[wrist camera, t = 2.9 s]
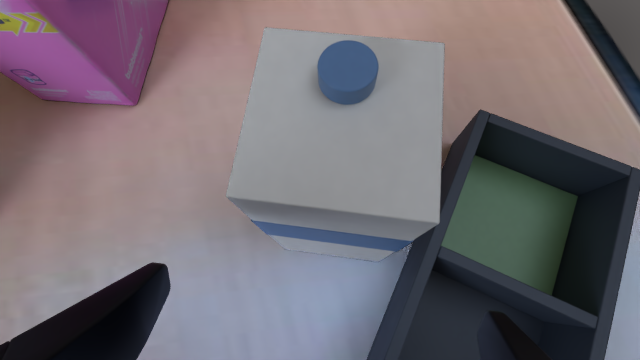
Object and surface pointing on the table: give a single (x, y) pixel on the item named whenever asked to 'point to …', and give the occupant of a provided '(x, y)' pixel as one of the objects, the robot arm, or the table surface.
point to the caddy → (515, 248)
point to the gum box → (80, 47)
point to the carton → (342, 142)
